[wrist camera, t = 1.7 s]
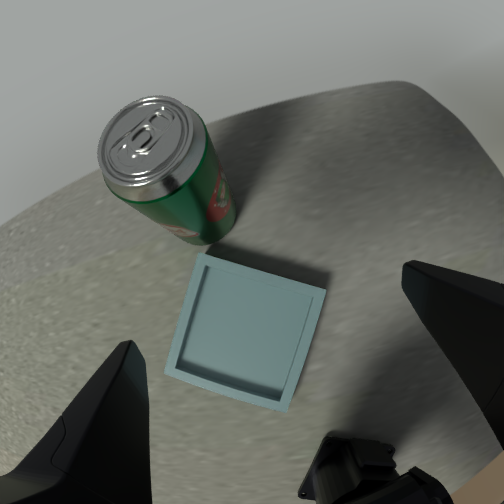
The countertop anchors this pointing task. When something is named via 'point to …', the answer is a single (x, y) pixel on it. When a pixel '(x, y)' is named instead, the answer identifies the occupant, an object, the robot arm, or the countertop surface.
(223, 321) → the tray
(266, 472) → the countertop surface
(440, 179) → the countertop surface
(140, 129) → the soda can
